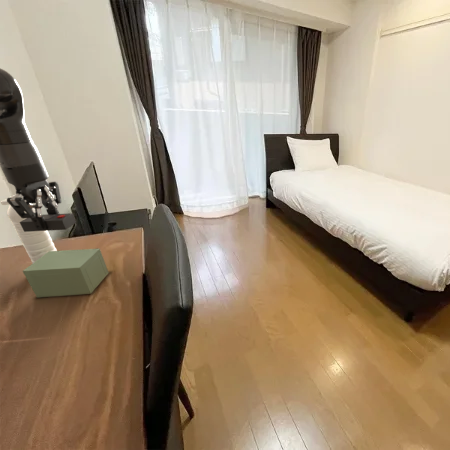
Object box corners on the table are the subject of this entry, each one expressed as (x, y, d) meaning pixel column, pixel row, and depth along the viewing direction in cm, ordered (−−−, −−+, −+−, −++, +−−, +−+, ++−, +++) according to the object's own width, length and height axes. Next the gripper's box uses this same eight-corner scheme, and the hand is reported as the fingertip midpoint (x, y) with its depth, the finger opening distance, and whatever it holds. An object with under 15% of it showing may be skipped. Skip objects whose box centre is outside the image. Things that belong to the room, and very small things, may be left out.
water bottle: (42, 264, 90) (6, 192, 79) (65, 260, 92) (34, 190, 81) (29, 279, 82) (-12, 203, 71) (56, 275, 85) (19, 200, 74)
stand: (36, 297, 75) (22, 271, 71) (60, 275, 84) (49, 251, 80) (90, 293, 77) (79, 267, 73) (108, 272, 86) (99, 248, 82)
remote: (24, 231, 70) (18, 221, 69) (37, 224, 74) (32, 213, 73) (66, 229, 71) (61, 219, 70) (76, 222, 75) (72, 212, 74)
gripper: (27, 155, 71) (53, 215, 78) (-25, 169, 58) (12, 239, 66) (58, 155, 72) (81, 214, 79) (14, 168, 59) (46, 237, 67)
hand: (50, 225), depth 72 cm, fingers closed on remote, 4 cm apart
